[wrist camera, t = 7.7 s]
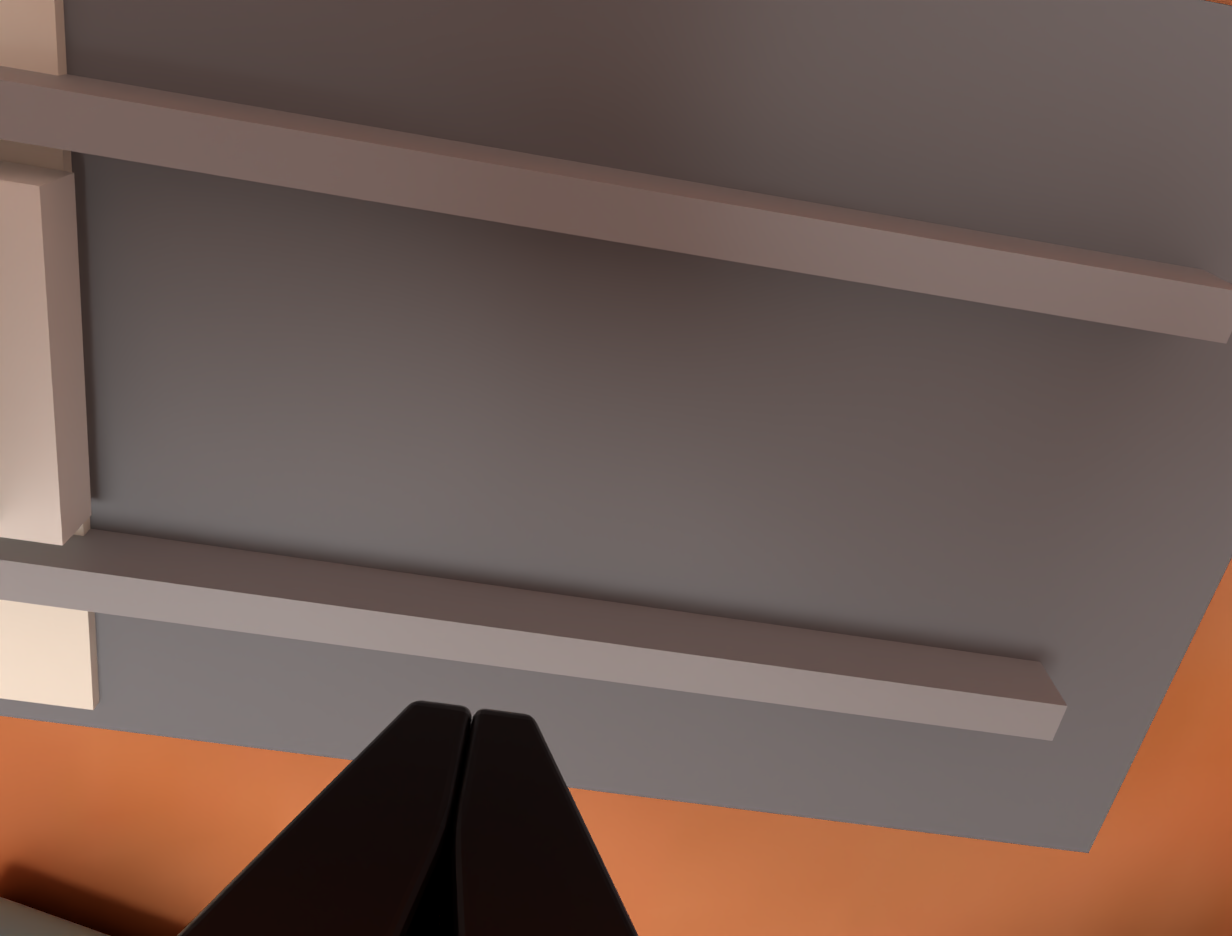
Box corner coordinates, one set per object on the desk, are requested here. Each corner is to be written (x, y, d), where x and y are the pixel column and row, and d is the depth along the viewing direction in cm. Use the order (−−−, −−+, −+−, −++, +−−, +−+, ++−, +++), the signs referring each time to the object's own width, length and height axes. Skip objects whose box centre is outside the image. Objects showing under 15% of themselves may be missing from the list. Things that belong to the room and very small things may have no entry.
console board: (1360, 40, 13) (1635, 68, 10) (1041, 766, 19) (1146, 960, 15) (-675, -350, 12) (-1254, -492, 8) (-407, 574, 17) (-688, 743, 13)
